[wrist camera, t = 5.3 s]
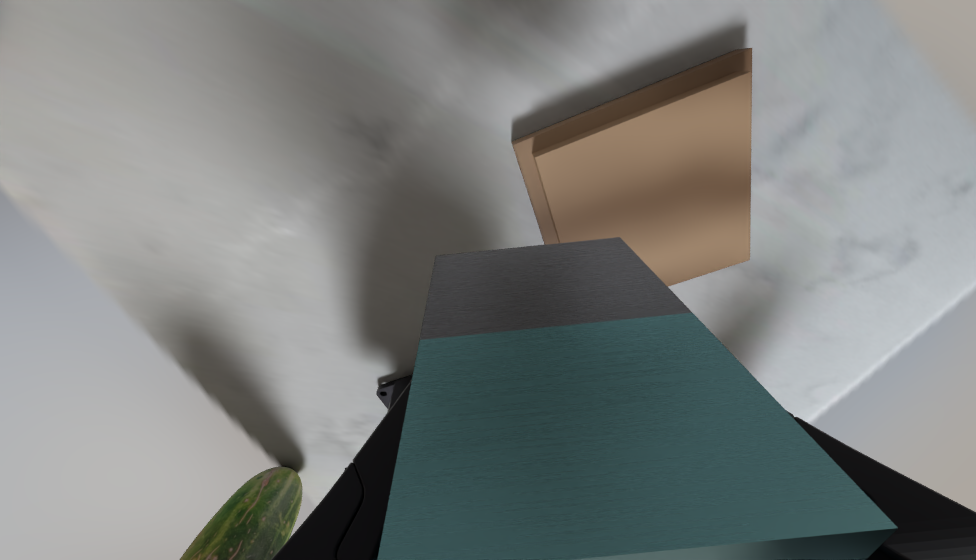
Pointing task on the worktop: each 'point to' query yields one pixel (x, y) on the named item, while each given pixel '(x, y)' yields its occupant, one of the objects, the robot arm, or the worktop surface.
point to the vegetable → (252, 519)
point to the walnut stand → (653, 171)
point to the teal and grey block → (600, 427)
